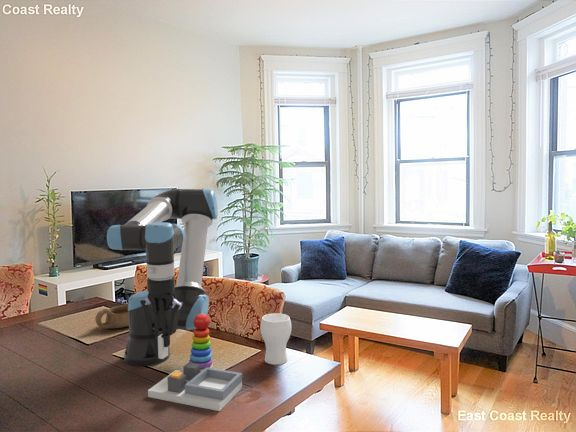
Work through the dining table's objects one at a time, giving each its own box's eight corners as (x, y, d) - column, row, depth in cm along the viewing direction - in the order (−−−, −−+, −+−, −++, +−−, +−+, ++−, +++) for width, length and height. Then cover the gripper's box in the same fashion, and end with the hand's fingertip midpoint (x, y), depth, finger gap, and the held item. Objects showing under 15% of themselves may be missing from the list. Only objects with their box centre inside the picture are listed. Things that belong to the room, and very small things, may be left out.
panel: (148, 396, 125) (147, 388, 125) (175, 376, 138) (175, 368, 138) (219, 411, 117) (219, 402, 117) (242, 387, 130) (241, 379, 130)
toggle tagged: (167, 390, 124) (167, 375, 124) (173, 385, 127) (173, 370, 127) (180, 393, 123) (179, 377, 123) (185, 388, 126) (185, 372, 125)
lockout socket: (185, 393, 123) (184, 384, 123) (206, 375, 134) (206, 367, 134) (223, 400, 119) (223, 391, 119) (241, 381, 130) (241, 373, 130)
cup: (287, 368, 144) (288, 323, 143) (256, 365, 146) (256, 321, 145) (293, 355, 154) (294, 313, 153) (264, 352, 157) (264, 311, 155)
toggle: (183, 379, 131) (183, 366, 131) (188, 375, 134) (188, 362, 134) (195, 381, 130) (194, 368, 130) (200, 377, 133) (200, 364, 132)
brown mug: (114, 333, 171) (108, 309, 172) (92, 337, 178) (86, 313, 178) (149, 320, 187) (143, 297, 187) (127, 324, 194) (122, 302, 194)
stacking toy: (201, 378, 136) (200, 320, 135) (183, 372, 141) (182, 315, 139) (218, 369, 143) (217, 313, 141) (200, 363, 147) (199, 309, 146)
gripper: (133, 278, 122) (136, 359, 125) (173, 282, 118) (175, 365, 121) (149, 272, 129) (152, 348, 132) (188, 276, 125) (189, 354, 128)
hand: (163, 356), depth 127 cm, fingers closed
